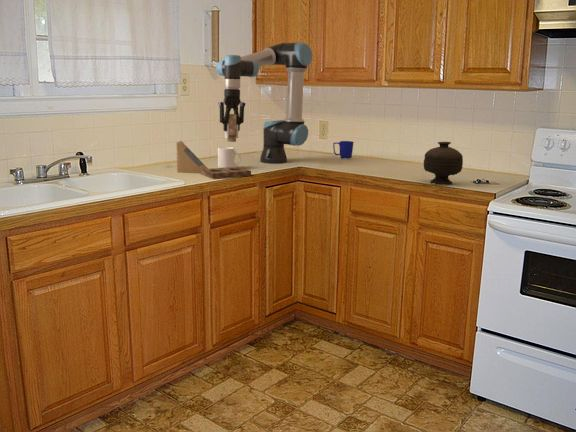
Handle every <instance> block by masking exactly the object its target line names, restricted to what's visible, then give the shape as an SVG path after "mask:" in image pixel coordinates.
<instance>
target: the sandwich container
mask: <svg viewBox="0 0 576 432" xmlns="http://www.w3.org/2000/svg"><path fill="white" fill-rule="evenodd" d="M175 146H176V172H177V173H182V174H183V173H184V174H201V169H209V167H207V165H206V164H205V163H204V162H202V160H201V159H200V158H198V157H197V156H196V154H195V153H194V152H193V151H192V150H191V149H190V148H189V147H188V146H187V145H186V144H185V143H184V142H183V141H182V140H180V141H177V142H176V145H175Z"/></svg>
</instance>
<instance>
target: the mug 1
mask: <svg viewBox="0 0 576 432" xmlns="http://www.w3.org/2000/svg"><path fill="white" fill-rule="evenodd" d="M235 155H236V156H238V157H239V161H238V162H236V161H235V160H236V159H235ZM241 160H242V159H241V155H240V153H239V152H238V151H236V150H235V147H230V146H219V147H217V168H226V167H239V166H240V164H241V162H242V161H241Z"/></svg>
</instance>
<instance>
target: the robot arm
mask: <svg viewBox="0 0 576 432" xmlns="http://www.w3.org/2000/svg"><path fill="white" fill-rule="evenodd" d="M312 61H313V52H312V49H311V47H310V45H308V44H307V43H305V42H281V43H278V44H277V43H276V44H274V45H272V46H268V47H265V48H264V49H263V50H261V51H257V52H254V53H250V54H246V55H244V56H240V54H227V55H225V57H224V60H220V61H218V62H217V63H216V67H215V68H216V72H217V74H218V75H219V76H222V77H224V83H223V84H224V91H223V92H224V93H223V95H224V98H223V100H222V101H218V106H219V123H220V124H222V125H223V131H224V138H225V139H227V138H229V125H228V119H229V114H231V111H232V110H233V114H236V139H238V138H239V132H240V131H241V130H240V129H241V126H240V125H242V124H244V123H245V122H244V121H245V107H246V102H243V101H242V100H241V77H246V78H247V77H248V78H253V77H256V76H258V74H259V71H260V68H261V67H265V66H269V67H271V66H285V70H286V71H287V85H286V86H287V88H286V91H287V92H286V109H285V110H286V111H285V113H286V115H285V118H284V119H282V120H281V119H279V120H268V121H267V120H266V121H264V123H263V148H262V151H261V153H260V157H259V159H260V160H259V161H260V162H261V163H264V164H266V163H267V164H284V163H287V161H288V158H287V154H286V151H285V150H286V149H285V145H288V146H295V147H299V146H302V145H304V144H305V142H306V141H307V140H308V137H309V128H308V126H307V125H306V124H305V119H304V118H303V97H304V81H305V78H304V77H305V72H306V71H307V70H308V66H309V65H310V64H311V63H312Z"/></svg>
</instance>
